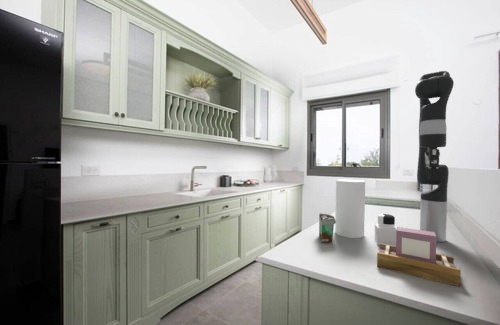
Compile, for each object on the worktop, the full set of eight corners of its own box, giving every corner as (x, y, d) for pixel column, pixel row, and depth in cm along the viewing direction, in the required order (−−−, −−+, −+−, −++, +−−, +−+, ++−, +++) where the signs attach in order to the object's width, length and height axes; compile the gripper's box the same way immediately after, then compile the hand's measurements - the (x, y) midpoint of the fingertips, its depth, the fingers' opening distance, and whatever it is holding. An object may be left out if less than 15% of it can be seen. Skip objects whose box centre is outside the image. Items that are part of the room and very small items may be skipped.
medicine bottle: (393, 241, 98) (393, 213, 97) (398, 247, 91) (398, 217, 91) (374, 239, 100) (375, 212, 100) (377, 245, 93) (378, 215, 93)
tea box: (433, 260, 72) (434, 232, 72) (435, 266, 68) (436, 236, 68) (396, 253, 78) (396, 226, 78) (395, 258, 73) (396, 230, 73)
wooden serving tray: (379, 255, 83) (380, 243, 83) (452, 270, 72) (453, 256, 72) (377, 266, 74) (377, 252, 74) (460, 286, 63) (460, 270, 63)
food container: (337, 245, 92) (338, 220, 92) (321, 244, 93) (322, 219, 93) (332, 235, 104) (333, 213, 104) (318, 234, 105) (319, 213, 105)
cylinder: (360, 230, 112) (361, 179, 112) (367, 239, 100) (368, 182, 100) (333, 228, 115) (334, 179, 115) (336, 236, 103) (337, 181, 103)
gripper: (449, 131, 74) (448, 181, 74) (443, 135, 86) (442, 178, 86) (420, 132, 78) (419, 179, 79) (418, 136, 90) (417, 177, 90)
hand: (431, 179), depth 82 cm, fingers open, 8 cm apart
